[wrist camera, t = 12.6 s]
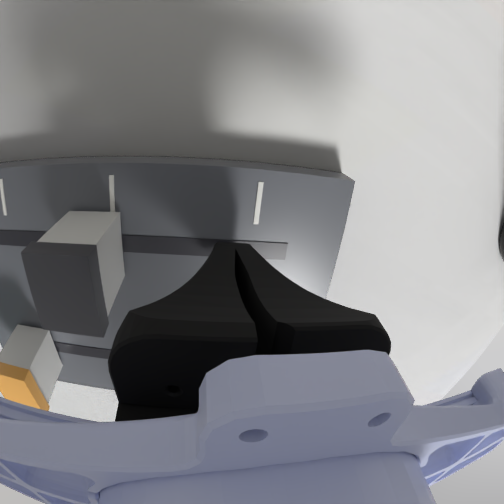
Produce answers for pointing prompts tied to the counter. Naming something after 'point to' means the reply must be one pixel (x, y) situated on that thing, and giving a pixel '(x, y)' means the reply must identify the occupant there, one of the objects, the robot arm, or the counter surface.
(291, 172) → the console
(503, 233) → the supplement bottle
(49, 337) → the fader orange
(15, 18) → the counter surface
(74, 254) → the fader black
